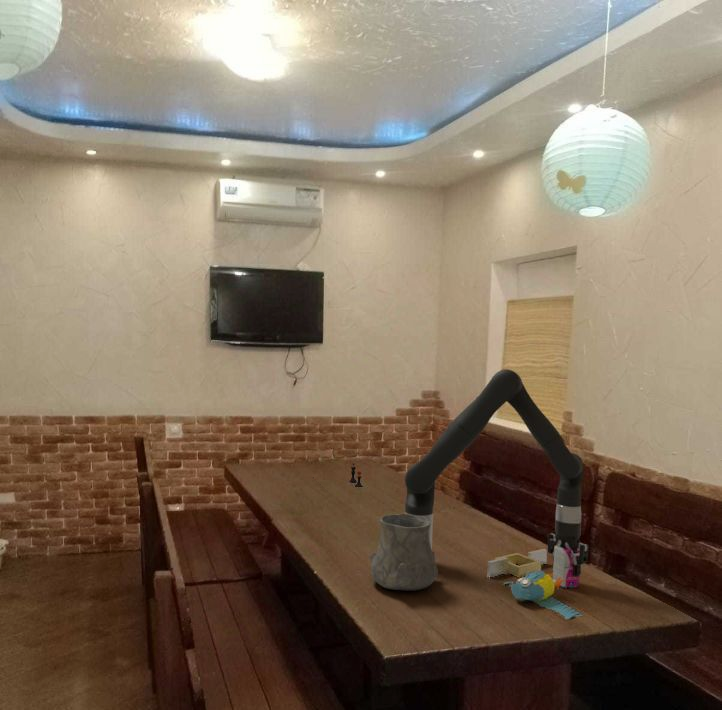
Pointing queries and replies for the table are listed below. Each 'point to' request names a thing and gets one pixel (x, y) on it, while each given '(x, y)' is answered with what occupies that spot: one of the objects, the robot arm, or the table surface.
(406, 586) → the vessel
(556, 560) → the supplement box
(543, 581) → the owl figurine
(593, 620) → the table surface
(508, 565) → the square frame with handle
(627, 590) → the table surface
